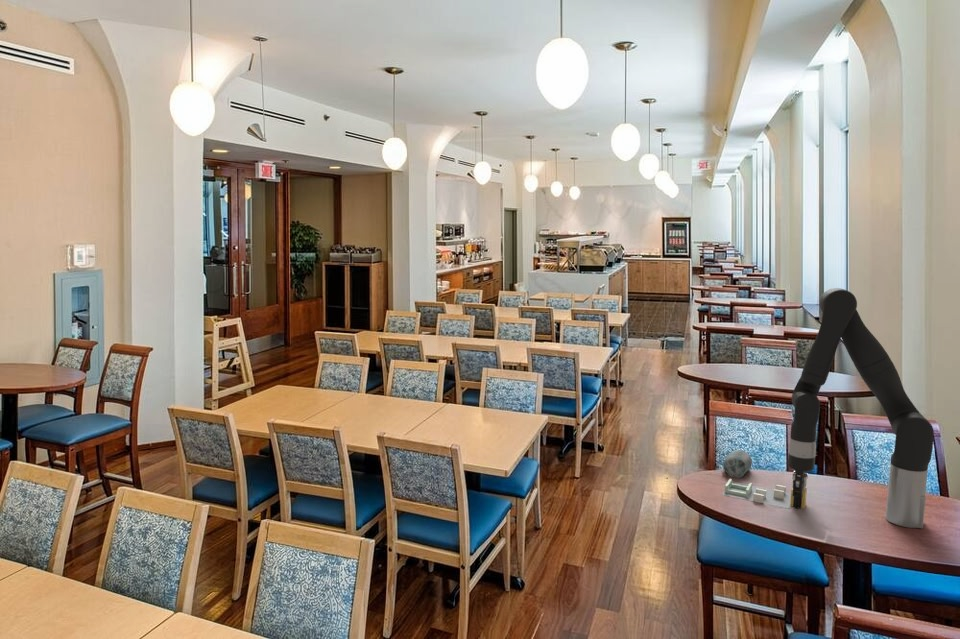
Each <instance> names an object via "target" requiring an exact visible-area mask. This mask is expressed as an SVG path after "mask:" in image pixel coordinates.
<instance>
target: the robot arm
mask: <svg viewBox="0 0 960 639" xmlns="http://www.w3.org/2000/svg"><path fill="white" fill-rule="evenodd" d="M857 307H858V300H857V298H856V296H855V294H853V293H852V292H851V291H849V290H847V289H843V288H839V287H835V288H828V289H827V290H826V291H824V292H823V293H822V294H821V296H820V298H819V308H820V311H821V312H822V317H821V322H820V326H819V330H818V332H817V335H816V337H815V339H814V341H813V344H812V345H811V347H810V349H809V351H808V354H807V357H806V359H805V362H804V365H803V369H802V371H801V374H800V378H799V379H798V381H797V382H796V385H795V387H794V389H793V392H792V395H791V403H792V405H793V407H794V416H793V417H794V418H793V421H792V423H791V426H790V436H789V437H790V438H789V442H788V455H787V467H789V468H790V469H792V470H794V471H793V473H792V488H793V494H792V495H793V496H794V502H793V506H792V507H793V508H797V509H802V508H801V504H802V497H803V491H804V490H805V488H807V480H808V477H809V476H808V475H809V474H808V472H812V471H814V470H815V465H816V464H815V463H816V452H817V448H816V446H817V444H816V438H817V425H818V422H819V417H820V412H821V402H820V399H819V398H818V395H819V392H820V390H821V387H822V386H823V385H825V383H826V381H827V380H828V377H829V374H830V371H831V368H832V365H833V362H834V359H835V356H836V353H837V350H838V346H839V344H840V341H841V340H842V343H843V345H844V348H845V350H846V351H847V353H848V355H849V357H850V359H851V361H852V363H853V366H854V367H855V368H856V371H857V372H858V373H859V376H860V377H861V379H862V380H863V382H864V383H865V385H867V387H868V389H869V390H870V391H871V393H872V394H873V395H874V397H876V399H877V400H878V402H879V404H880V406H881V407H882V409H883V411H884V413H885V415H886V418H887V420H888V422H889V424H890V428H891V429H892V431H893V433H894V434H895V442H894V449H893V452H892V454H891V456H890V463H889V465H890V466H889V475H888V477H889V478H888V487H887V496H886V497H887V498H886V510H885V519H886V520H887V522H890V523H891V524H894V525H897V526H899V527H904V528H911V529H916V528H917V529H924V518H925V511H926V510H925V508H926V497H927V496H926V490H927V480H928V468H929V464H930V462H931V459H932V453H933V445H934V439H935V438H934V437H935V436H934V434H935V432H934V431H935V430H934V427H933V425H932V424H931V422H929V420H928V419H927V418H925V416H924V415H922V413H921V412H920V411H919V410H918V409H917V407H916V406H915V404H914V403H913V402H912V400H911V399H910V398H909V396H908V394H907V393H906V391H905V389H904V386H903V383H902V380H901V377H900V374H899V373H898V370H897V368H896V366H895V364H894V363H893V361H892V359H891V357H890V356H889V354H888V353H887V351H886V350H885V348H884V347H883V346H882V344H881V343H880V342H879V340H878V339H877V338H876V337H875V335H874V334H873V333H872V332H871V331H870V329H868V327H867V326H866V325H865V323H864V321H863V320H862V318H861V316H860V314H859V312H858V310H857ZM792 488H791V489H792ZM796 491H798V492H800V494H799V493H796Z"/></svg>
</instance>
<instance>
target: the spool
mask: <svg viewBox="0 0 960 639" xmlns="http://www.w3.org/2000/svg"><path fill="white" fill-rule="evenodd" d="M752 464H753V458H752V457H751V455H750V454H749V453H748V452H746V451H745V450H742V449H736V450H733V451H731V452H729V454H727V456H726V457H725V458H724V460H723V464H722V467H723V470H724V471H725V472H726V474H728V476H730V477H732V478H737V479H738V478H743V477H744V476H745V474H746V473H747V472H748V471H749V470H750V468H751V467H752Z"/></svg>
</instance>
